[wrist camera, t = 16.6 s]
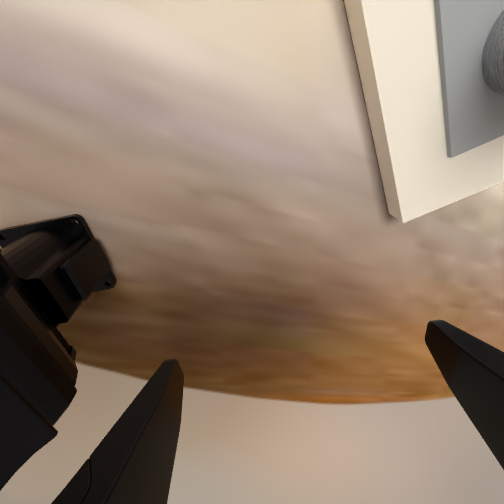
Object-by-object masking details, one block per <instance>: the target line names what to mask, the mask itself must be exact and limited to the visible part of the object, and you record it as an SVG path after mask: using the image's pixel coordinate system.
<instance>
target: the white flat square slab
mask: <svg viewBox="0 0 504 504" xmlns="http://www.w3.org/2000/svg"><path fill="white" fill-rule="evenodd" d="M344 3H345V8H346V13H347V17H348V22H349V27H350V31H351V36H352V41H353V46H354V50H355V55H356V60H357V65H358V69H359V74H360V79H361V83H362V88H363V93H364V98H365V102H366V107H367V112H368V116H369V121H370V126H371V131H372V135H373V140H374V145H375V149H376V154H377V159H378V164H379V168H380V173H381V178H382V183H383V187H384V192H385V197H386V201H387V206H388V211H389V214H390V215H392V216H393V217H395V218H396V219H398V220H399V221H400V222H402V223H405V222H407V221H410V220H412V219H414V218H417V217H419V216H422V215H424V214H427V213H429V212H431V211H434V210H436V209H439V208H441V207H444V206H446V205H448V204H451V203H453V202H456V201H458V200H461V199H463V198H465V197H468V196H470V195H473V194H475V193H478V192H480V191H482V190H485V189H487V188H490V187H492V186H495V185H497V184H499V183H502V182H504V96H503V95H499V94H497V93H495V92H493V91H492V90H491V89H490V88H489V87H488V86H487V84H486V82H485V80H484V77H483V72H482V55H483V50H484V46H485V43H486V40H487V37H488V35H489V33H490V30H491V28H492V26H493V25H494V23H495V21H496V20H497V18H498V17H499V15H500V14H501V12H502V11H503V10H504V0H344Z"/></svg>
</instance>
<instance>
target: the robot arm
mask: <svg viewBox="0 0 504 504" xmlns="http://www.w3.org/2000/svg"><path fill="white" fill-rule="evenodd" d="M74 220H77V221H78V224H77V223H75V222H74ZM3 235H4V236H5V237H6V238H5V237H3ZM0 246H1V247H2V249H0V491H1V489H2V488H3V487H4V485H5V484H6V483H7V482H8V480H10V478H11V477H12V476H13V475H14V474H15V472H16V471H17V470H18V469H19V468H20V467H21V466H22V465H23V464H24V463H25V462H26V461H27V460H28V459H29V458H30V457H31V456H32V455H33V454H34V453H35V452H37V451H38V450H39V449H41V448H42V447H43V446H44V445H46V444H47V443H48V442H49V441H51V440H52V439H53V438H54V437H55V436H56V435H57V433H58V431H57V430H56V429H55V428H54V427H53V425H54V424H55V423H56V422H57V421H58V419H59V418H60V417H61V416H62V414H63V413H64V412H65V410H66V409H67V408H68V407H69V405H70V403H71V401H72V400H73V398H74V396H75V394H76V392H77V390H76V388H75V387H74V386H75V384H76V378H77V373H78V370H77V367H76V364H75V357H76V350H75V349H74V348H73V346H69V344H68V343H67V342H66V340H65V339H64V338H63V336H62V335H61V333H60V332H59V331H58V329H57V327H58V326H59V324H60V323H66V322H68V320H69V319H70V318H71V316H72V315H73V314H74V312H75V311H76V310H77V308H78V307H79V306H80V304H81V303H82V302H83V301H84V300H87V299H88V297H89V296H90V295H91V293H92V292H95V291H100V290H105V289H110V288H113V287H114V285H115V284H116V280H115V278H114V276H113V274H112V272H111V270H110V266H109V264H108V262H107V260H106V258H105V256H104V254H103V252H102V250H101V248H100V247H99V245H98V243H97V241H96V240H95V239H94V238H93V236H92V234H91V232H90V230H89V228H88V226H87V224H86V222H85V220H84V219H83V218H82V217H81V216H80V215H77V214H73V215H68V216H64V217H59V218H54V219H49V220H44V221H39V222H34V223H29V224H24V225H19V226H14V227H9V228H4V229H1V230H0ZM107 281H109V282H110V283H108V282H107ZM425 342H426V345H427V347H428V349H429V351H430V352H431V354H432V356H433V358H434V360H435V362H436V364H437V366H438V368H439V369H440V371H441V373H442V375H443V377H444V379H445V381H446V382H447V384H448V386H449V388H450V389H451V391H452V392H453V394H454V395H455V397H456V398H457V400H458V401H459V403H460V404H461V406H462V407H463V409H464V411H465V412H466V414H467V415H468V417H469V418H470V420H471V421H472V423H473V424H474V426H475V427H476V429H477V430H478V432H479V433H480V435H481V436H482V438H483V439H484V441H485V442H486V444H487V445H488V447H489V448H490V450H491V451H492V453H493V454H494V456H495V457H496V459H497V460H498V462H499V463H500V465H501V466H502V468H503V469H504V352H502V351H501V350H499V349H497V348H495V347H493V346H491V345H489V344H487V343H485V342H484V341H482V340H480V339H478V338H476V337H474V336H472V335H470V334H468V333H466V332H465V331H463V330H461V329H459V328H457V327H455V326H453V325H451V324H449V323H447V322H446V321H443V320H434V321H429V323H428V325H427V329H426V334H425ZM183 384H184V375H183V371H182V369H181V367H180V365H179V362H178V360H177V359H168V360H165V361H164V362H163V363H162V364H161V366H160V367H159V368H158V370H157V371H156V372H155V373H154V375H153V376H152V377H151V378H150V380H149V381H148V382H147V384H146V385H145V386H144V387H143V389H142V390H141V391H140V393H139V394H138V395H137V396H136V398H135V399H134V400H133V402H132V403H131V404H130V405H129V407H128V408H127V409H126V411H125V412H124V413H123V414H122V416H121V417H120V418H119V420H118V421H117V422H116V423H115V425H114V426H113V427H112V428H111V430H110V431H109V432H108V434H107V435H106V436H105V437H104V439H103V440H102V441H101V443H100V444H99V446H98V447H97V448H96V449H95V450H94V452H93V453H92V454H91V455H90V459H87V460H86V462H85V463H84V464H83V466H82V467H81V468H80V469H79V471H78V472H77V473H76V474H75V476H74V477H73V478H72V479H71V481H70V482H69V483H68V484H67V486H66V487H65V488H64V489H63V491H62V492H61V493H60V494H59V495H58V496H57V498H56V499H55V500H54V501H53V502H52V504H167V500H168V494H169V488H170V482H171V477H172V471H173V465H174V460H175V454H176V448H177V442H178V437H179V431H180V424H181V412H182V398H183Z"/></svg>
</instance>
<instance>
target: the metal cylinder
mask: <svg viewBox="0 0 504 504" xmlns="http://www.w3.org/2000/svg"><path fill="white" fill-rule="evenodd" d="M482 72H483V77H484V80H485V82H486V84H487V86H488V87H489V88H490V89H491V90H492V91H493V92H495V93H497V94H499V95H503V96H504V10H503V11H502V12H501V14H500V15H499V17H498V18H497V20H496V21H495V23H494V25H493V26H492V28H491V30H490V33H489V35H488V37H487V40H486V43H485V46H484V50H483V55H482Z"/></svg>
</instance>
